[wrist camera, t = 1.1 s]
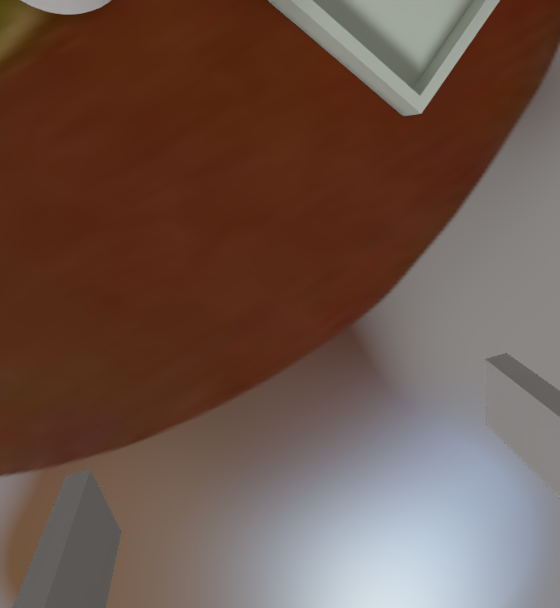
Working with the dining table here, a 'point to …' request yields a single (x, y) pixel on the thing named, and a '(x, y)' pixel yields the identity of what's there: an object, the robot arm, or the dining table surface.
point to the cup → (67, 5)
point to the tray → (393, 41)
